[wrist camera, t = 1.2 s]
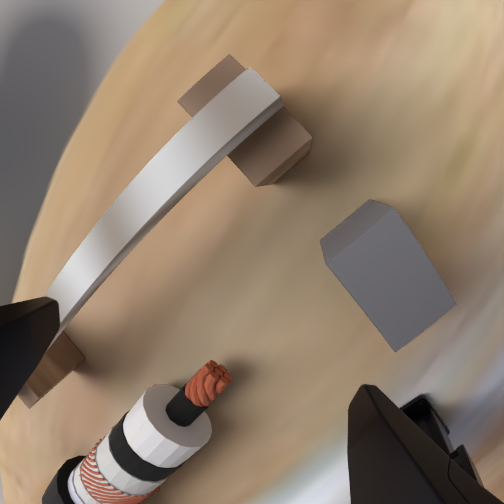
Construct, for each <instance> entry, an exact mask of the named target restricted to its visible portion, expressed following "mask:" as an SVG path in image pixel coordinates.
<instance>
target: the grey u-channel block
mask: <svg viewBox="0 0 504 504" xmlns="http://www.w3.org/2000/svg"><path fill="white" fill-rule="evenodd" d="M320 242H321V246H322V250H323V254H324V259H325V263H326V265H327V266H328V267H329V269H330V270H331V271H332V272H333V274H334V275H335V276H336V277H337V278H338V280H339V281H340V282H341V283H342V285H343V286H344V287H345V288H346V290H347V291H348V292H349V293H350V295H351V296H352V297H353V298H354V300H355V301H356V302H357V304H358V305H359V306H360V307H361V309H362V310H363V311H364V312H365V314H366V315H367V316H368V318H369V319H370V320H371V321H372V323H373V324H374V325H375V327H376V328H377V329H378V331H379V332H380V333H381V334H382V336H383V337H384V338H385V340H386V341H387V342H388V344H389V345H390V346H391V348H392V349H393V350H394V352H397V351H398V350H399V349H401V348H402V347H403V346H405V345H406V344H407V343H409V342H410V341H411V340H413V339H414V338H415V337H417V336H418V335H419V334H421V333H422V332H423V331H424V330H426V329H427V328H428V327H429V326H431V325H432V324H433V323H434V322H436V321H437V320H438V319H439V318H440V317H442V316H443V315H444V314H445V313H446V312H448V311H449V310H450V309H451V308H452V307H454V306H455V305H456V302H455V300H454V298H453V297H452V295H451V293H450V292H449V290H448V288H447V286H446V285H445V283H444V281H443V280H442V278H441V277H440V275H439V273H438V272H437V270H436V268H435V267H434V265H433V264H432V262H431V261H430V259H429V257H428V256H427V254H426V253H425V251H424V250H423V248H422V247H421V245H420V244H419V242H418V241H417V239H416V238H415V236H414V235H413V233H412V232H411V230H410V229H409V228H408V226H407V225H406V223H405V222H404V220H403V219H402V218H401V216H400V215H399V213H398V212H397V211H396V209H395V208H394V207H391V206H388V205H385V204H382V203H379V202H376V201H373V200H370V199H369V200H368V201H367V202H366V203H365V204H363V205H362V206H361V207H360V208H359V209H357V210H356V211H355V212H354V213H353V214H351V215H350V216H349V217H348V218H347V219H345V220H344V221H343V222H342V223H341V224H339V225H338V226H337V227H336V228H335V229H333V230H332V231H331V232H330V233H328V234H327V235H326V236H325V237H324V238H322V239H321V240H320Z"/></svg>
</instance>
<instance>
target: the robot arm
mask: <svg viewBox="0 0 504 504" xmlns="http://www.w3.org/2000/svg"><path fill="white" fill-rule="evenodd" d="M59 328H60V313H59V303H58V301H57V300H55V299H53V298H50V297H47V296H45V297H40V298H36V299H31V300H26V301H22V302H17V303H12V304H8V305H3V306H0V420H1V418H2V417H3V415H4V414H5V412H6V411H7V409H8V408H9V406H10V405H11V403H12V402H13V400H14V399H15V397H16V396H17V395H18V393H19V392H20V390H21V389H22V387H23V386H24V385H25V383H26V382H27V380H28V379H29V378H30V376H31V375H32V373H33V372H34V371H35V369H36V368H37V366H38V364H39V363H40V361H41V360H42V358H43V356H44V354H45V353H46V351H47V349H48V348H49V346H50V344H51V343H52V341H53V339H54V338H55V336H56V334H57V333H58V331H59ZM422 400H423V401H422ZM420 401H422V402H420ZM448 434H449V429H448V427H447V426H446V425H445V423H444V422H443V420H442V419H441V417H440V416H439V415H438V413H437V412H436V410H435V409H434V408H433V406H432V405H431V403H430V402H429V400H428V399H427V398H426V396H424V395H420V396H418V397H416V398H415V399H414V400H412V401H411V402H409V403H407V404H406V405H404V406H403V407H401V408H400V409H399V408H398V407H397V406H396V405H395V404H394V403H393V402H392V401H391V400H390V399H389V398H388V397H387V396H386V395H385V394H384V393H383V392H382V391H381V390H380V389H379V388H378V387H377V386H375V385H368V384H363V385H361V386H360V388H359V389H358V391H357V393H356V394H355V396H354V398H353V400H352V401H351V403H350V405H349V409H348V447H347V455H348V469H349V481H350V496H351V504H504V503H503V502H502V501H500V500H499V499H498V498H497V497H495V496H494V495H493V494H491V493H490V492H489V491H488V490H486V489H485V488H484V486H483V483H482V481H481V479H480V476H479V474H478V472H477V469H476V467H475V465H474V464H473V462H472V460H471V458H470V456H469V454H468V452H467V451H466V449H465V447H464V445H463V444H462V445H461V446H459V447H458V448H457V449H456V450H455V451H454V449H453V446H452V444H451V442H450V439H449V437H448Z"/></svg>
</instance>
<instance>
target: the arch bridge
mask: <svg viewBox="0 0 504 504" xmlns="http://www.w3.org/2000/svg"><path fill="white" fill-rule="evenodd" d="M177 102H178V103H179V104H180V105H181V106H182V107H183V108H184V109H185V110H186V111H187V113H188V114H189V115H190V116H191V117H192V119H191V120H190V121H189V122H188V123H187V124H186V125H185V126H184V127H183V128H182V129H181V130H180V131H179V132H178V133H177V134H176V135H175V136H174V137H173V138H172V139H171V140H170V141H169V142H168V143H167V144H166V145H165V146H164V147H163V148H162V149H161V150H160V151H159V152H158V153H157V154H156V155H155V156H154V157H153V158H152V159H151V161H150V162H149V163H148V164H147V165H146V166H145V167H144V168H143V169H142V170H141V172H140V173H139V174H138V175H137V176H136V177H135V178H134V179H133V180H132V182H131V183H130V184H129V185H128V186H127V187H126V188H125V190H124V191H123V192H122V193H121V194H120V196H119V197H118V198H117V199H116V200H115V201H114V203H113V204H112V205H111V206H110V207H109V209H108V210H107V211H106V212H105V214H104V215H103V216H102V217H101V219H100V220H99V221H98V222H97V224H96V225H95V226H94V227H93V229H92V230H91V231H90V233H89V234H88V235H87V236H86V238H85V239H84V240H83V242H82V243H81V244H80V246H79V247H78V248H77V250H76V251H75V252H74V254H73V255H72V257H71V258H70V259H69V261H68V262H67V264H66V265H65V266H64V268H63V269H62V271H61V272H60V273H59V275H58V276H57V278H56V279H55V281H54V282H53V284H52V285H51V287H50V288H49V290H48V291H47V293H46V294H45V296H47V297H50V298H53V299H55V300H57V301H58V303H59V313H60V328H59V331H58V333H57V334H56V336H55V338H54V339H53V341H52V343H51V344H50V346H49V348H48V349H47V351H46V353H45V354H44V356H43V358H42V360H41V361H40V363H39V364H38V366H37V368H36V369H35V371H34V372H33V373H32V375H31V376H30V378H29V379H28V380H27V382H26V383H25V385H24V386H23V387H22V389H21V390H20V392H19V393H18V396H19V398H20V399H21V400H22V401H23V402H24V404H25V405H26V406H27V407H28V408H29V409H30V408H31V407H32V406H33V405H34V404H35V403H36V402H38V401H39V400H40V399H41V398H42V397H43V396H44V395H45V394H47V393H48V392H49V391H50V390H51V389H52V388H53V387H54V386H56V385H57V384H58V383H59V382H60V381H61V380H62V379H64V378H65V377H66V376H67V375H68V374H69V373H70V372H72V371H73V370H74V369H75V368H76V367H77V366H78V365H79V364H80V363H81V362H82V361H83V360H84V359H85V357H84V356H83V355H82V354H81V352H80V351H79V350H78V349H77V348H76V346H75V345H74V344H73V343H72V342H71V340H70V339H69V338H68V337H67V335H66V334H65V333H64V332H63V330H64V329H65V327H66V326H67V325H68V324H69V322H70V321H71V320H72V319H73V317H74V316H75V315H76V314H77V313H78V311H79V310H80V309H81V308H82V307H83V305H84V304H85V303H86V302H87V301H88V299H89V298H90V297H91V296H92V295H93V294H94V292H95V291H96V290H97V289H98V288H99V287H100V285H101V284H102V283H103V282H104V281H105V280H106V279H107V277H108V276H109V275H110V274H111V273H112V272H113V271H114V269H115V268H116V267H117V266H118V265H119V264H120V263H121V262H122V261H123V259H124V258H125V257H126V256H127V255H128V254H129V253H130V252H131V251H132V250H133V249H134V248H135V246H136V245H137V244H138V243H139V242H140V241H141V240H142V239H143V238H144V237H145V236H146V235H147V234H148V233H149V232H150V230H151V229H152V228H153V227H154V226H155V225H156V224H157V223H158V222H159V221H160V220H161V219H162V218H163V217H164V216H165V215H166V214H167V213H168V212H169V211H170V210H171V209H172V208H173V207H174V206H175V205H176V204H177V203H178V202H179V201H180V200H181V199H182V198H183V197H184V196H185V195H186V194H187V193H188V192H189V191H190V190H191V189H192V188H193V187H194V186H195V185H196V184H197V183H198V182H199V181H200V180H201V179H202V178H203V177H205V176H206V175H207V174H208V173H209V172H210V171H211V170H212V169H213V168H214V167H215V166H216V165H217V164H218V163H219V162H220V161H222V160H223V159H224V158H225V157H226V156H228V157H229V158H230V159H231V160H232V161H233V163H234V164H235V165H236V166H237V167H238V168H239V169H240V170H241V171H242V173H243V174H244V175H245V176H246V177H247V178H248V179H249V180H250V182H251V183H252V184H253V185H254V186H255V187H257V186H264V185H271V184H273V183H274V182H276V181H277V180H278V179H279V178H280V177H281V176H282V175H284V174H285V173H286V172H287V171H288V170H289V169H291V168H292V167H293V166H294V165H295V164H297V163H298V162H299V161H300V160H301V159H302V158H304V157H305V156H306V155H307V154H308V153H310V148H311V143H312V138H313V137H312V136H311V135H310V134H309V133H308V132H307V131H306V130H305V129H304V127H303V126H302V125H301V124H300V123H299V122H298V121H297V120H296V119H295V118H294V117H293V116H292V115H291V114H290V112H289V111H288V110H287V109H286V108H285V107H284V106H283V103H282V100H281V96H280V95H279V94H278V93H277V92H276V91H275V90H274V89H273V88H272V87H271V86H270V85H269V84H268V83H267V82H266V81H265V80H264V79H263V78H262V77H260V76H259V75H258V74H257V73H256V72H255V71H254V70H253V69H252V68H251V67H249V68H248V69H245V68H244V67H243V66H242V65H241V64H240V63H239V62H238V61H237V60H236V59H234V58H233V57H232V56H231V55H230V54H229V55H228V56H226V57H225V58H224V59H223V60H222V61H221V62H219V63H218V64H217V65H216V66H215V67H214V68H212V69H211V70H210V71H209V72H208V73H207V74H206V75H205V76H204V77H202V78H201V79H200V80H199V81H198V82H197V83H196V84H195V85H194V86H193V87H192V88H191V89H189V90H188V91H187V92H186V93H185V94H184V95H183V96H182V97H181V98H180V99H179V100H178V101H177ZM45 296H44V297H45Z"/></svg>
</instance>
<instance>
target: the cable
mask: <svg viewBox="0 0 504 504" xmlns="http://www.w3.org/2000/svg"><path fill="white" fill-rule="evenodd" d="M226 372H227V369H226V368H225V367H224V366H222V365H219V366H218V365H217V363H216V362H215V361H213V360H210V361H209V362H208V363H206V364H205V365H204V366H203V367H202V368H201V369H200V370H199V371H198V372H197V373H196V374H195V376H194V377H193V378H192V379H191V380H190V381H189V382H188V384H185V385H184V386H183V387H182V388H181V390H180V389H178V388H176V387H174V386H170V385H167V384H160V385H153V386H152V387H150V388H149V389H147V390H146V391H145V392H144V394H143V395H142V396H141V397H140V399H139V400H138V401H137V402H136V404H135V405H134V406H133V407H132V409H131V410H129V411H128V412H127V413H126V414H125V415H124V416H123V417H122V419H121V420H120V421H119V422H118V424H116V425H115V426H114V427H112V429H111V430H110V431H109V433H108V434H107V435H106V437H105V436H104V438H103V439H100V440H99V443H96V444H95V447H94V448H92V452H89V455H87V456H77V457H74V458H72V459H69V460H67V461H66V462H65V463H64V464H63V465H62V467H61V468H60V469H59V470H58V472H57V473H56V475H55V476H54V478H53V480H52V481H51V483H50V484H49V486H48V487H47V489H46V491H45V493H44V495H43V497H42V504H139V503H140V502H141V501H143V500H144V499H146V498H147V497H148V496H150V495H151V494H153V493H154V492H155V491H157V492H159V489H160V485H161V484H162V483H163V482H164V481H165V480H167V479H168V478H169V477H170V475H171V474H172V473H173V472H175V471H176V470H177V469H178V468H180V467H181V466H182V465H183V464H184V463H185V461H186V460H187V459H188V458H189V457H190V456H192V455H193V454H194V453H195V452H197V451H198V450H199V449H200V448H201V447H203V446H204V445H205V444H206V443H207V442H208V441H209V439H210V436H211V434H212V427H211V422H210V419H209V417H208V415H207V413H206V412H205V410H206V409H207V408H208V406H209V405H210V401H213V400H214V399H215V398H216V395H217V394H220V393H221V392H223V390H224V388H225V387H226V385H227V384H228V383H229V382H230V381H231V380H232V377H231V376H230V375H229V374H228V373H226Z"/></svg>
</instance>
